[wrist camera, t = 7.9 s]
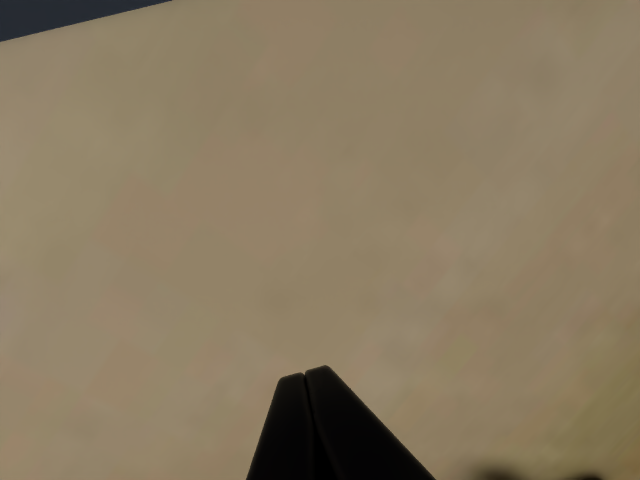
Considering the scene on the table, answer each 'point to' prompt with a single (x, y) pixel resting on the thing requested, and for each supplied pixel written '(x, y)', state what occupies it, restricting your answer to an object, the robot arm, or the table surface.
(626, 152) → the table surface
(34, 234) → the table surface
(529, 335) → the table surface
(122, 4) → the mat
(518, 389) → the table surface
